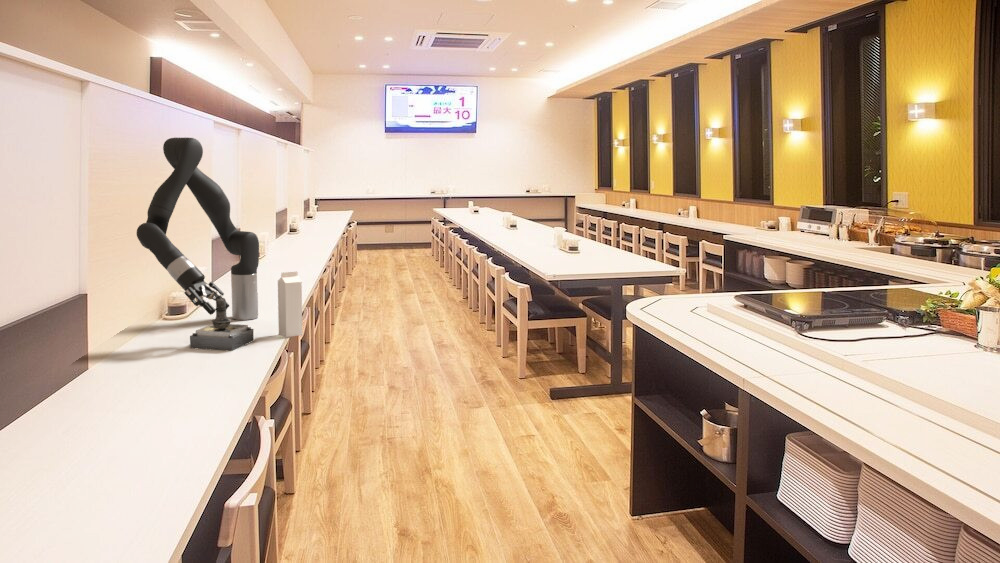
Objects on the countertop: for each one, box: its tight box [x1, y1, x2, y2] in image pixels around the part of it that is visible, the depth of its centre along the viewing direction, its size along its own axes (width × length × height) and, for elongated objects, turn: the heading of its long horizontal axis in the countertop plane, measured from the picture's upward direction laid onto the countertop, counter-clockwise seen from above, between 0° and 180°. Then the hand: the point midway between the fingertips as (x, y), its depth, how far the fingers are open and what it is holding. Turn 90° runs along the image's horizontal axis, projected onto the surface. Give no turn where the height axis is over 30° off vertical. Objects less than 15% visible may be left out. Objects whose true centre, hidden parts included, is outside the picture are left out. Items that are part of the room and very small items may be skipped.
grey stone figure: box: [211, 295, 232, 332], centre depth 220 cm, size 6×6×12 cm
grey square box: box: [189, 323, 254, 352], centre depth 221 cm, size 14×14×6 cm
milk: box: [277, 271, 303, 338], centre depth 236 cm, size 6×6×22 cm
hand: (220, 310), depth 220 cm, fingers open, 8 cm apart
